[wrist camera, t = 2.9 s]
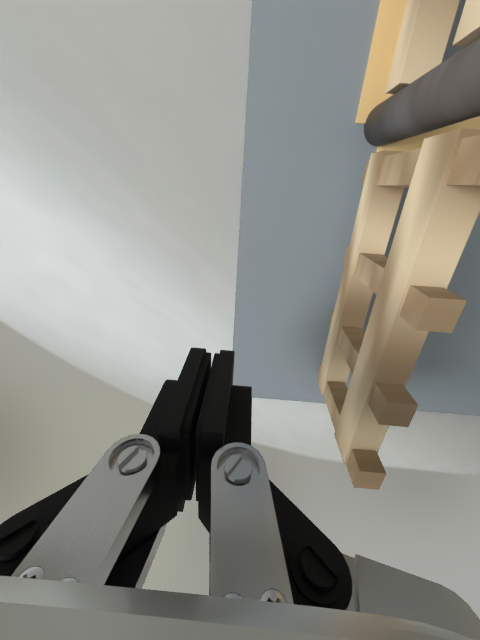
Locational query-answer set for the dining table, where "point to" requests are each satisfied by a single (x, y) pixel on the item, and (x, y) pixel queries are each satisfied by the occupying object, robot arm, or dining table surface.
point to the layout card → (327, 200)
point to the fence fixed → (429, 73)
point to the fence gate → (396, 289)
